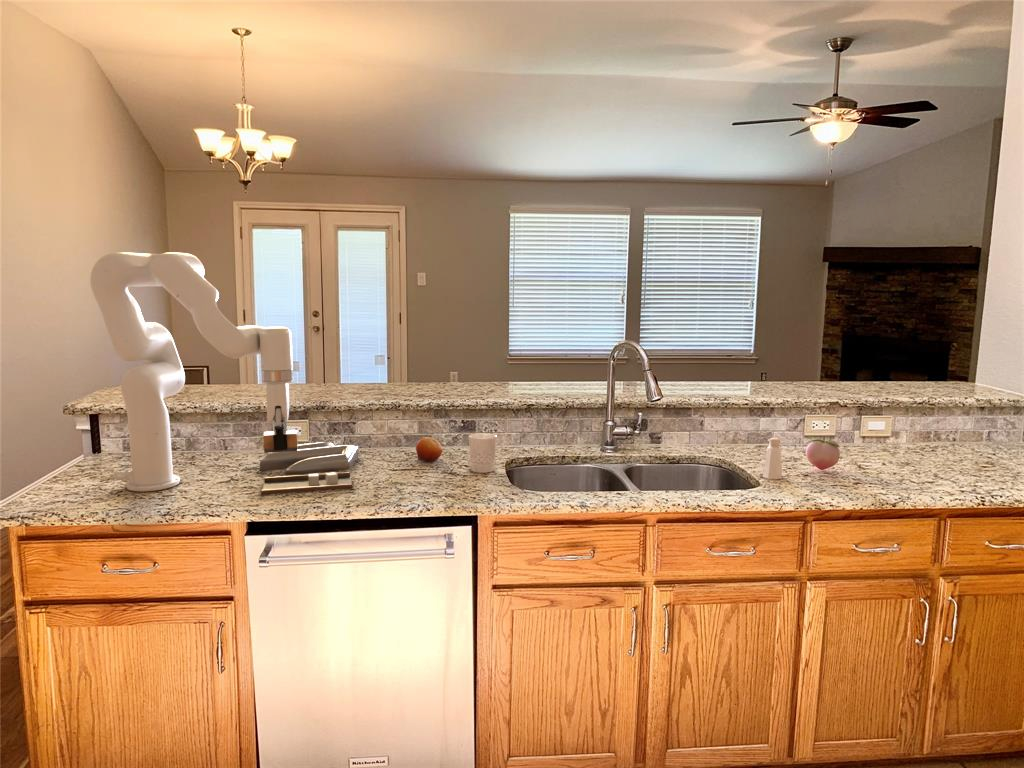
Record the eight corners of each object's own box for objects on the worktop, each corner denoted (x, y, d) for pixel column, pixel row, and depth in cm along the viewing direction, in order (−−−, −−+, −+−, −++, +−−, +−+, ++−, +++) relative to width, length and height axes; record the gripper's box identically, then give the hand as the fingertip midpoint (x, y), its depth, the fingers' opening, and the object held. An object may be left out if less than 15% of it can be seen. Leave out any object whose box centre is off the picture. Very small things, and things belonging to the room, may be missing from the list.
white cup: (478, 475, 196) (478, 440, 194) (463, 468, 202) (463, 435, 200) (501, 470, 200) (501, 436, 199) (486, 464, 206) (486, 431, 205)
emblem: (308, 466, 183) (238, 451, 197) (309, 486, 184) (239, 470, 198) (380, 445, 207) (313, 433, 221) (381, 462, 207) (314, 450, 221)
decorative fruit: (842, 469, 206) (844, 436, 204) (835, 475, 199) (838, 441, 198) (808, 464, 211) (811, 431, 210) (801, 469, 205) (803, 436, 203)
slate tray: (261, 499, 173) (261, 490, 172) (264, 485, 184) (264, 477, 184) (352, 492, 179) (352, 484, 178) (350, 479, 190) (350, 471, 190)
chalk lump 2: (328, 484, 181) (328, 475, 181) (325, 482, 183) (325, 473, 183) (337, 483, 182) (337, 474, 182) (335, 481, 184) (334, 471, 184)
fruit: (412, 451, 215) (425, 430, 213) (434, 465, 215) (447, 443, 214) (407, 458, 207) (421, 436, 206) (430, 472, 207) (444, 450, 206)
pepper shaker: (758, 476, 197) (761, 438, 195) (767, 473, 201) (769, 435, 199) (777, 480, 193) (780, 442, 192) (785, 477, 197) (788, 438, 196)
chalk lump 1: (308, 485, 180) (308, 476, 180) (308, 483, 182) (308, 473, 182) (318, 485, 181) (318, 475, 180) (318, 482, 183) (318, 473, 183)
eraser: (264, 453, 175) (263, 435, 174) (265, 448, 179) (264, 431, 178) (297, 450, 177) (296, 433, 176) (298, 446, 181) (297, 429, 180)
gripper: (264, 372, 182) (267, 441, 185) (259, 381, 166) (263, 456, 169) (294, 371, 184) (297, 439, 187) (292, 380, 168) (295, 454, 171)
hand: (281, 446), depth 178 cm, fingers closed on eraser, 4 cm apart
